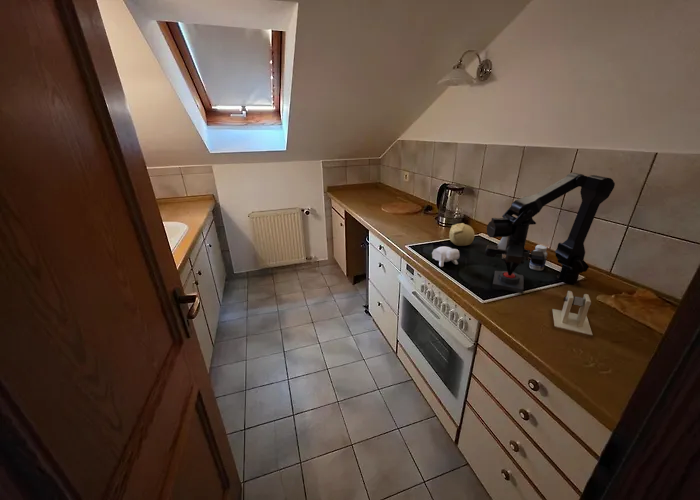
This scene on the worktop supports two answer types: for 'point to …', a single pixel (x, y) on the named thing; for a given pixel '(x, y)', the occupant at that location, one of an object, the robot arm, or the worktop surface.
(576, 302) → the lever
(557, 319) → the beige u-shaped holder
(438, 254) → the white animal figurine
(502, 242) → the flask
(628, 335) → the worktop surface
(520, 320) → the worktop surface
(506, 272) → the button
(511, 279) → the button housing
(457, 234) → the sculpture
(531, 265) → the pill bottle
